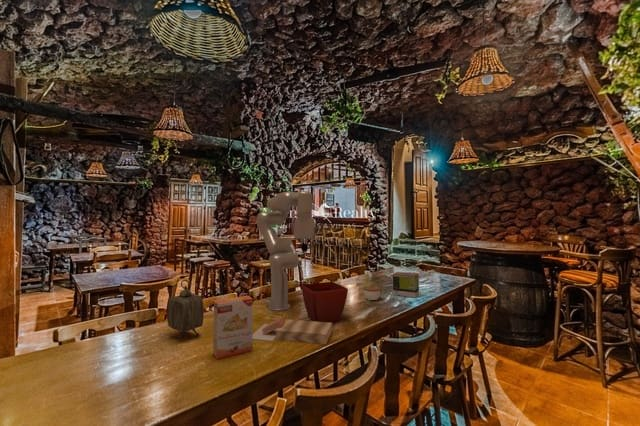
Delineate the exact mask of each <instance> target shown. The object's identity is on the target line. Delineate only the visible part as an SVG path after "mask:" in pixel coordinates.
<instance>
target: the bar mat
mask: <svg viewBox="0 0 640 426" xmlns="http://www.w3.org/2000/svg"><path fill="white" fill-rule="evenodd" d="M268 324H269V323H264V324H263V325H262V326H260V327H259V328H258V329H257V330H256V331H255V332H253V340H254V341H266V342H273V341H274V340H276V330H277V329H278V328H277V329H275V330H273V331H271V332H269V333H267V334H265V335H264V333H263V331H262V329H263V328H264V327H265V326H266V325H268Z"/></svg>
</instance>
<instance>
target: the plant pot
mask: <svg viewBox="0 0 640 426" xmlns="http://www.w3.org/2000/svg"><path fill="white" fill-rule="evenodd" d="M300 286H301V294H302V300H303V302H304V304H303V305H304V307H305V311H306V313H307V316H308V318H310V320H311V321H315V322H328V323H335V322H339V321H340V320H341V317H342V314H343V312H344V308H345V307H346V301H347V299H348V297H347V296H348V292H349V289H348V287H345V286H343V285H341V284H339V283H336V282H335V281H328V282H327V281H325V282H323V281H322V282H312V283H302V284H301V285H300Z"/></svg>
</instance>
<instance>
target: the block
mask: <svg viewBox="0 0 640 426" xmlns="http://www.w3.org/2000/svg"><path fill="white" fill-rule="evenodd" d="M285 320H286V319H285V318H284V316H282V317H280V318H278V319H276V320H274V321H271V322H270V323H267V324H268V325H266V326H265V327H264V328H263V329H262V331H263V333H264V335H265V334H267V333H269V332H271V331H273V330H275V329H277V328H279V327H281V326H282V325H283V324H284V323H285Z"/></svg>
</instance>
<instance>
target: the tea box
mask: <svg viewBox="0 0 640 426" xmlns="http://www.w3.org/2000/svg"><path fill="white" fill-rule="evenodd" d="M419 281H420V277H419V273H418V272H417V273H416V272H406V271H405V272H404V271H396V272H394V273H393V274H392V289H393V290H392V294H394V295H393V296H397V295H400V296H399V297H405V296H406V297H405V298H414V299H416V298H417V297H419V296H420V282H419Z"/></svg>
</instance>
